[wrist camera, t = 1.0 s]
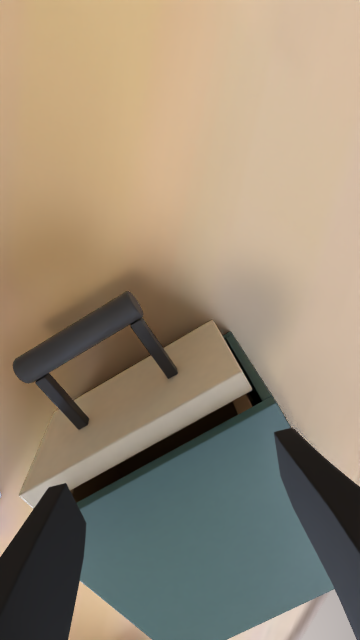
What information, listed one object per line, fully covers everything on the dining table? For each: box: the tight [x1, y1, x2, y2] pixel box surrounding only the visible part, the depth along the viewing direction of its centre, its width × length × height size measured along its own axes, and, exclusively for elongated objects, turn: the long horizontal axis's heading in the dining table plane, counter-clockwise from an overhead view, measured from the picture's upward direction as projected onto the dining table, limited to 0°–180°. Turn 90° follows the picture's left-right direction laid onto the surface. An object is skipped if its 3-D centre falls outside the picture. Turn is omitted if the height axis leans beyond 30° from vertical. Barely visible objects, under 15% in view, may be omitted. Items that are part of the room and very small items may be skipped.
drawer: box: [13, 291, 256, 509], centre depth 19 cm, size 18×12×6 cm, turn 30°
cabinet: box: [77, 332, 334, 640], centre depth 20 cm, size 14×13×8 cm
